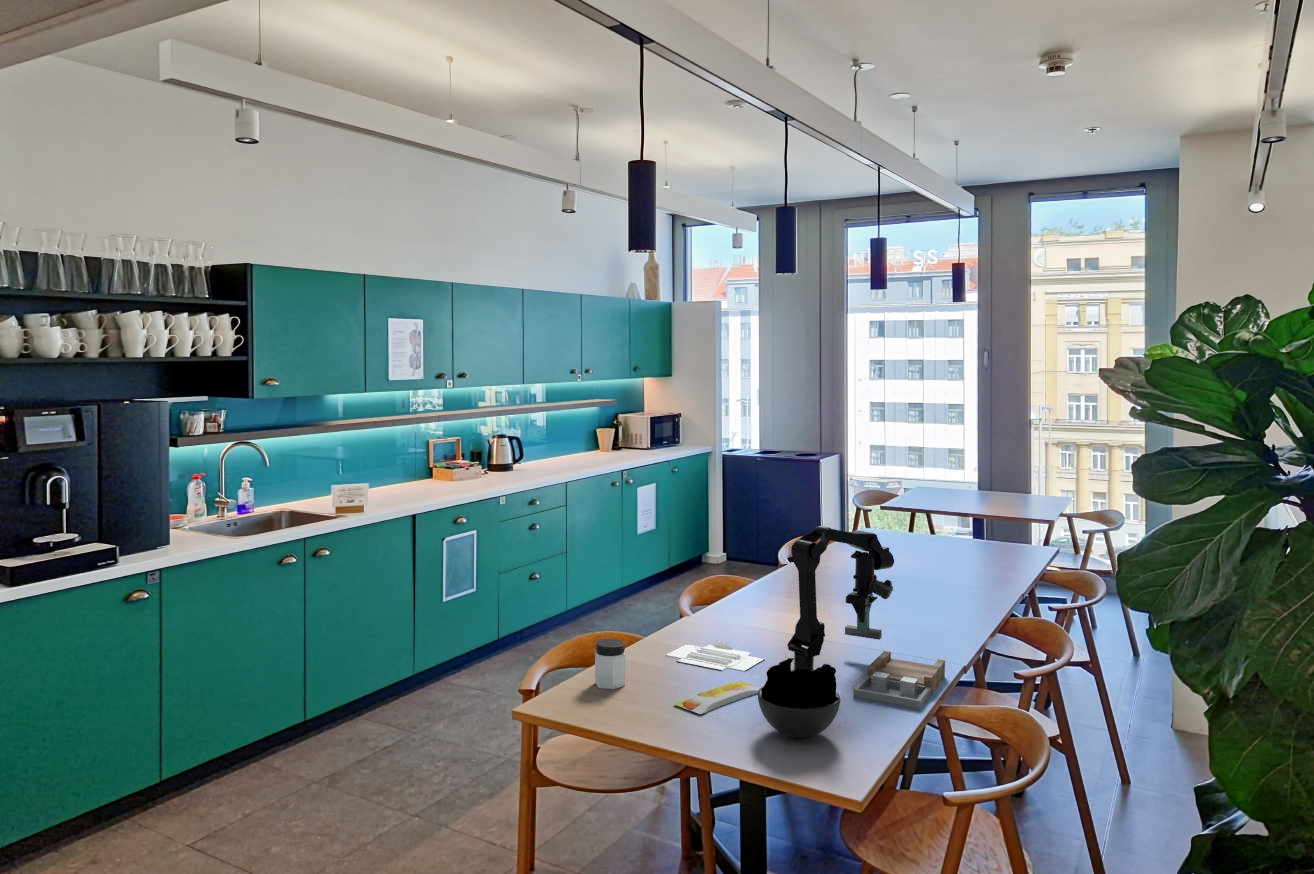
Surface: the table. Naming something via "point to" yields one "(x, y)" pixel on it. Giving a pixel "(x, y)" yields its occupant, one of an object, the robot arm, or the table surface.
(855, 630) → the rake tool
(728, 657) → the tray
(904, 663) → the slot block
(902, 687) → the light grey cube
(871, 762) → the table surface
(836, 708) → the coal bowl
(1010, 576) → the table surface
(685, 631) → the table surface
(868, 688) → the tray
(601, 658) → the jar
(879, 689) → the white cube
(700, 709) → the food package
